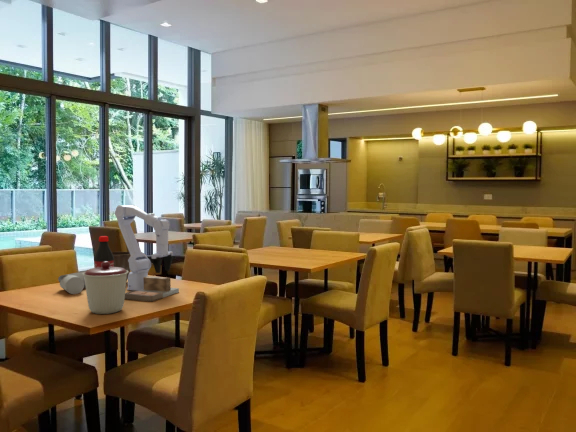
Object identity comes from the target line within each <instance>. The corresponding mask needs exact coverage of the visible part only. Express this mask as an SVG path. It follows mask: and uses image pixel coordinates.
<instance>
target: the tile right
mask: <svg viewBox="0 0 576 432" xmlns="http://www.w3.org/2000/svg"><path fill="white" fill-rule="evenodd" d="M156 294H159V293H154V292H148V293H144V294H141V295H148V296H153V295H156Z"/></svg>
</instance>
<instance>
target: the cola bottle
mask: <svg viewBox="0 0 576 432" xmlns="http://www.w3.org/2000/svg"><path fill="white" fill-rule="evenodd" d="M109 241H110V240H109V236H107V235H100V236H99V237H98V243H99V245H98V247H97V249H96V252H95V255H94V257H93V261H94V263H93V264H94V267H93V268H98V267H102V266H101V263H102V262H104V261H108V262H109V263H110V267H114V257H113V254H112V252H113V251H112V250H111V248H110V246H109Z"/></svg>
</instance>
